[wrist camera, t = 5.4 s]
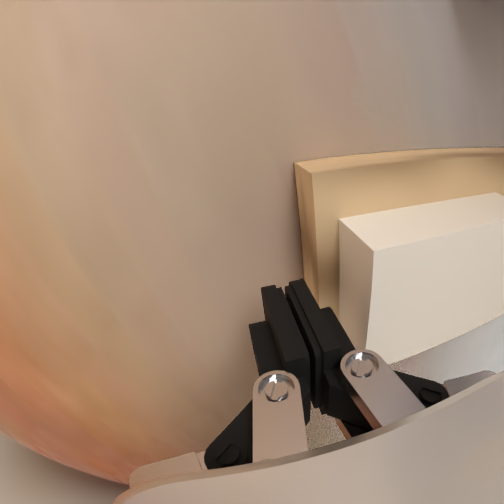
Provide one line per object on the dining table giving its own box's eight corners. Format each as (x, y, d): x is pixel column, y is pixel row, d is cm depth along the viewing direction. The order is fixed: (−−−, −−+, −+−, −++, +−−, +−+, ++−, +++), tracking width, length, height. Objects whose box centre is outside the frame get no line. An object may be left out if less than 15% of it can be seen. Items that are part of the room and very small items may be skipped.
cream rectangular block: (338, 218, 12) (373, 251, 10) (495, 192, 13) (534, 211, 10) (338, 331, 15) (361, 374, 12) (479, 284, 16) (508, 311, 13)
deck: (293, 162, 13) (311, 173, 11) (525, 147, 15) (550, 156, 13) (307, 335, 18) (319, 363, 16) (507, 269, 19) (526, 283, 17)
